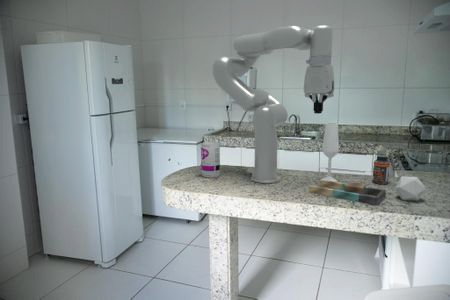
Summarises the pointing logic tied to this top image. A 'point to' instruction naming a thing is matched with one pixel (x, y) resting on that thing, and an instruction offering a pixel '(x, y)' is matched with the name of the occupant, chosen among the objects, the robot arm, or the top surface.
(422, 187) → the die
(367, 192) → the tray
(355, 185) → the walnut block
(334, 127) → the champagne flute
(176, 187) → the top surface
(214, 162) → the supplement can
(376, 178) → the supplement bottle
